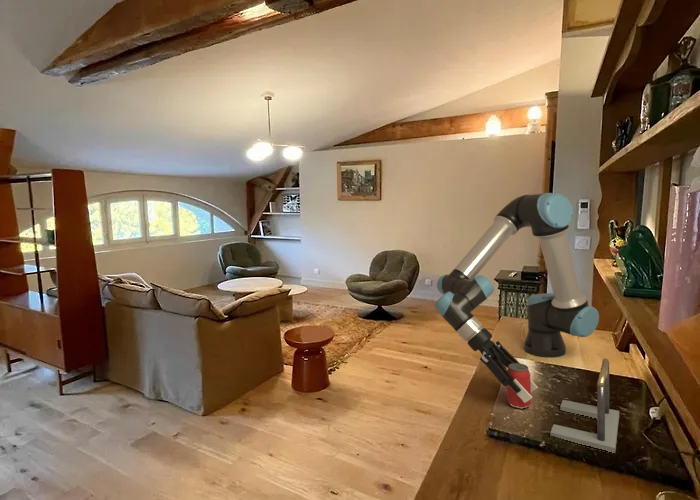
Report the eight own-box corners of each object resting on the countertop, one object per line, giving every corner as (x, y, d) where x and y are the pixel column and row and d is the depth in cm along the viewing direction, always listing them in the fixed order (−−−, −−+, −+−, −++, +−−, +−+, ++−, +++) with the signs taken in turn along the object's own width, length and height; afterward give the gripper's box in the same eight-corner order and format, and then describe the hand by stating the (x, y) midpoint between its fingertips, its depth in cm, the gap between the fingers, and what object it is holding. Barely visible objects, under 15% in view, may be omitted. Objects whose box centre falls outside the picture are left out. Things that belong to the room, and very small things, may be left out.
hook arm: (602, 415, 114) (602, 357, 112) (609, 416, 113) (609, 358, 111) (597, 445, 101) (596, 380, 99) (604, 447, 100) (604, 382, 98)
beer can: (531, 411, 119) (530, 371, 117) (507, 408, 121) (506, 370, 120) (530, 400, 125) (529, 363, 124) (507, 398, 127) (506, 361, 126)
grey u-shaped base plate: (563, 404, 121) (562, 399, 121) (619, 416, 113) (619, 410, 113) (550, 437, 105) (550, 432, 105) (615, 453, 97) (615, 448, 97)
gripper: (477, 332, 138) (529, 388, 130) (455, 351, 122) (513, 416, 114) (492, 319, 134) (547, 375, 126) (472, 336, 119) (533, 402, 111)
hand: (531, 394), depth 120 cm, fingers closed on beer can, 7 cm apart
